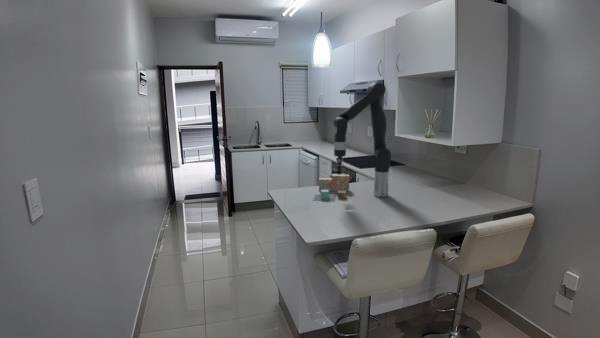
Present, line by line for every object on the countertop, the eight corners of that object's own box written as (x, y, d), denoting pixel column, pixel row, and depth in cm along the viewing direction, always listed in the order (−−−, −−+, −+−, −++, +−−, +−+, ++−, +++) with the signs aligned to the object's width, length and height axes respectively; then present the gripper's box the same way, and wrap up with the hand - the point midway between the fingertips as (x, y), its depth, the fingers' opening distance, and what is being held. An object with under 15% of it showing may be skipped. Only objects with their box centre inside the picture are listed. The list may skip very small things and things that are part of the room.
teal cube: (328, 197, 218) (329, 189, 217) (328, 199, 213) (328, 191, 212) (321, 196, 218) (321, 189, 217) (320, 199, 214) (320, 191, 213)
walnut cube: (345, 198, 219) (345, 190, 218) (345, 200, 214) (345, 193, 213) (338, 197, 220) (338, 190, 219) (337, 200, 215) (337, 192, 214)
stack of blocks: (318, 192, 233) (318, 175, 231) (319, 189, 239) (319, 173, 237) (349, 192, 231) (349, 176, 229) (348, 190, 237) (349, 174, 235)
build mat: (336, 196, 222) (336, 195, 221) (334, 203, 208) (334, 201, 208) (315, 195, 224) (315, 194, 223) (313, 202, 210) (313, 200, 210)
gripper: (345, 150, 204) (344, 175, 208) (346, 147, 218) (345, 170, 222) (333, 150, 206) (333, 175, 209) (335, 146, 219) (334, 170, 223)
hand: (339, 172), depth 215 cm, fingers open, 8 cm apart
